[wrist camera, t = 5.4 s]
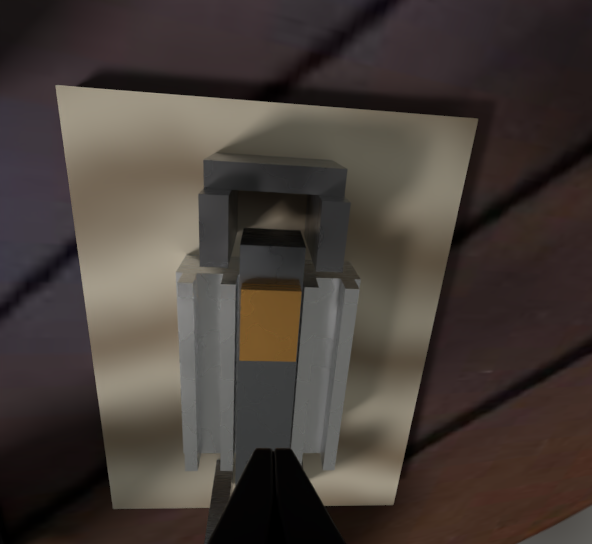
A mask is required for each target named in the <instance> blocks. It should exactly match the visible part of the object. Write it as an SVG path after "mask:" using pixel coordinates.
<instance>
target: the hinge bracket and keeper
mask: <svg viewBox="0 0 592 544" xmlns="http://www.w3.org/2000/svg"><path fill="white" fill-rule="evenodd" d="M347 170H348V169H347V168H345V167H343V166H341V165H340V164H338V163H336V162H335V161H333V160H323V159H308V158H293V157H278V156H263V155H248V154H233V153H218V152H215V153H214V154H212V155H210V156H209V157H207V158H205V159H204V160H203V175H204V188H203V189H202V191H201V192H200V193H199V194H198V205H199V257H200V267H219V268H228V266H229V262H230V258H231V254H232V251H233V247H234V243H235V239H236V236H237V220H238V190H243V191H260V192H277V193H294V194H307V206H306V219H305V231H304V237H305V240H306V243H307V246H308V249H309V252H310V255H311V258H312V261H313V264H314V267H315V271H317V272H342V273H343V265H344V256H345V248H346V240H347V231H348V223H349V215H350V206H351V202H350V201H349V200H348V199H347V198H346V197H345V188H346V179H347ZM302 468H303V460H302ZM232 491H233V471H220V460H217V462H216V468H215V475H214V482H213V489H212V495H211V502H210V509H209V516H208V522H207V529H206V536H205V543H204V544H207V542H208V540H209V538H210V536H211V534H212V532H213V530H214V528H215V526H216V524H217V522H218V520H219V518H220V516H221V514H222V512H223V510H224V508H225V506H226V504H227V502H228V500H229V498H230V496H231V494H232Z"/></svg>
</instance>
